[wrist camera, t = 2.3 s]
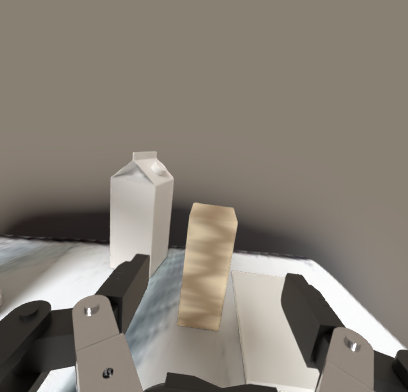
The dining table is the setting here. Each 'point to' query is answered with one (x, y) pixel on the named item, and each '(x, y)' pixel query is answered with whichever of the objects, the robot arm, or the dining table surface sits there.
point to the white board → (268, 336)
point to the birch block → (206, 265)
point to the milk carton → (140, 211)
